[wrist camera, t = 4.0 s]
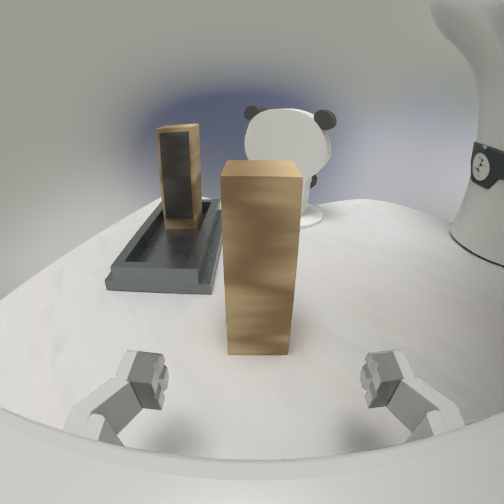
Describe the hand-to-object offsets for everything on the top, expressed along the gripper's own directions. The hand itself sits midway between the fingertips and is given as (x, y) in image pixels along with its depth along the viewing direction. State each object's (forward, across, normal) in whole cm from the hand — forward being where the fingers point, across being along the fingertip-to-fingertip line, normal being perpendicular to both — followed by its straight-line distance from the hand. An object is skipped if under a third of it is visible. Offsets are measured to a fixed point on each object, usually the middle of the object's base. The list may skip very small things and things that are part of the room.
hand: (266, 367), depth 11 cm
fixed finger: (+27, +9, +5) cm, 29 cm away
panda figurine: (+33, -4, +7) cm, 34 cm away
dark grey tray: (+22, +9, +6) cm, 25 cm away
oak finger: (+8, 0, +6) cm, 11 cm away
